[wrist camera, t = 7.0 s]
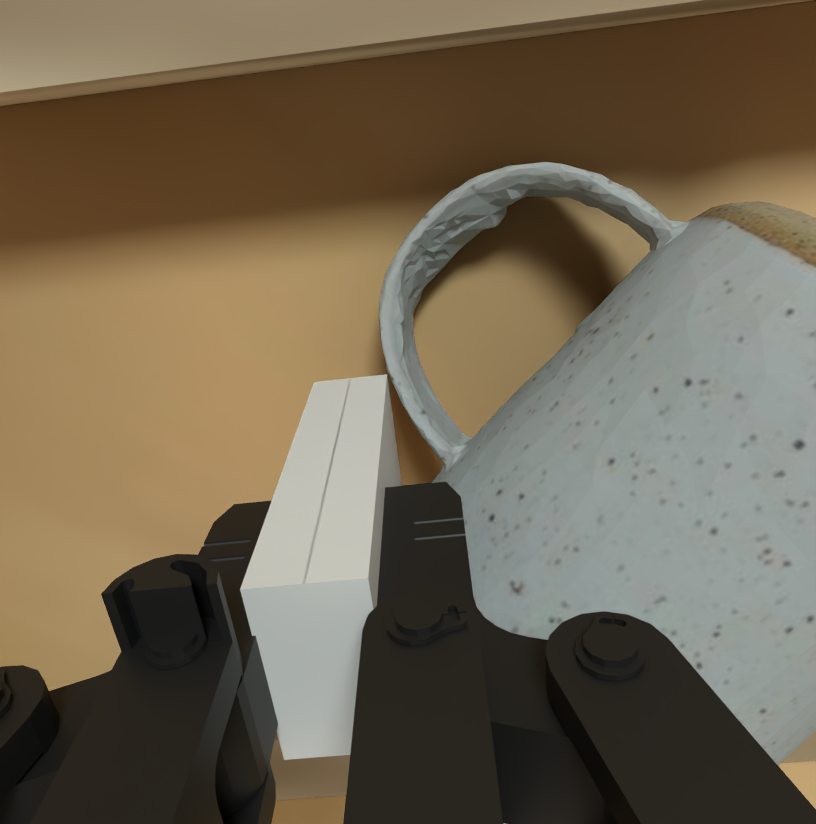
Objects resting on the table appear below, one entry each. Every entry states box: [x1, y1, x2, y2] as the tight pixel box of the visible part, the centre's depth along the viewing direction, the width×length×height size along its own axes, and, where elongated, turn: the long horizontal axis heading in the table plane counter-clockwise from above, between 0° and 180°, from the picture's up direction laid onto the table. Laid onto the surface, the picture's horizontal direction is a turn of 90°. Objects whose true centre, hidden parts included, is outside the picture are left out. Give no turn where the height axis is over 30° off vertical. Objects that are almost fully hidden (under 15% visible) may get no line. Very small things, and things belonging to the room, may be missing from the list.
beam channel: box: [0, 0, 816, 801], centre depth 13 cm, size 22×23×5 cm
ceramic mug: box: [379, 162, 816, 765], centre depth 12 cm, size 11×8×8 cm
